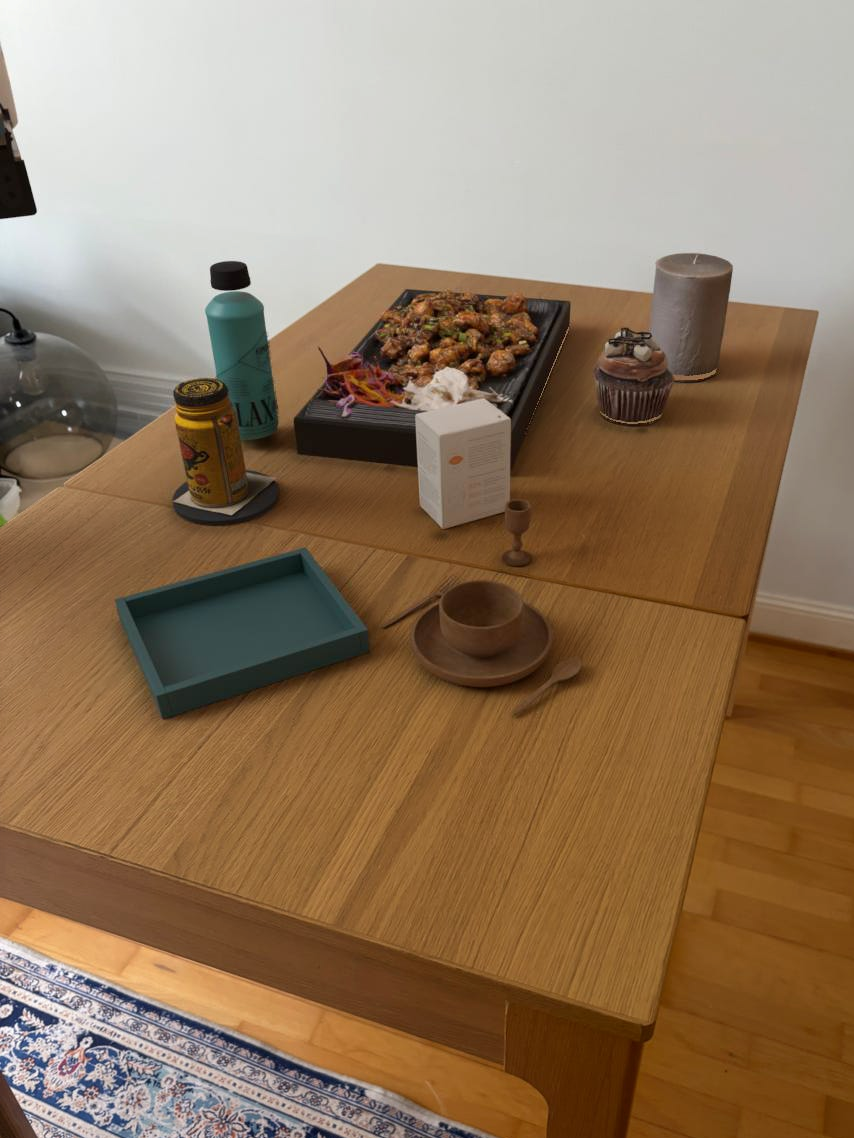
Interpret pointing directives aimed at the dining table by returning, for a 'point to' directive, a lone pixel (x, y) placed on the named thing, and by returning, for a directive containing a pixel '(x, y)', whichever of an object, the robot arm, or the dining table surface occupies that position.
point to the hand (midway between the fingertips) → (7, 202)
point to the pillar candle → (690, 311)
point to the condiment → (212, 448)
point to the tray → (239, 630)
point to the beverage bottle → (242, 350)
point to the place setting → (487, 627)
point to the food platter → (433, 372)
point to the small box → (463, 462)
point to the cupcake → (632, 378)
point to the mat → (247, 512)
